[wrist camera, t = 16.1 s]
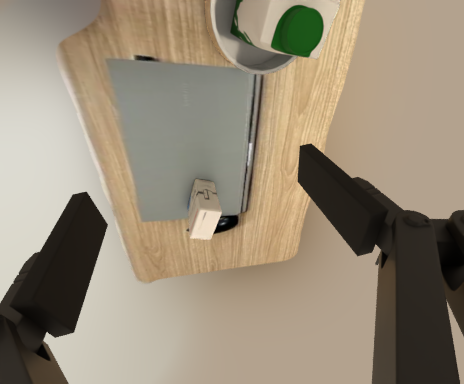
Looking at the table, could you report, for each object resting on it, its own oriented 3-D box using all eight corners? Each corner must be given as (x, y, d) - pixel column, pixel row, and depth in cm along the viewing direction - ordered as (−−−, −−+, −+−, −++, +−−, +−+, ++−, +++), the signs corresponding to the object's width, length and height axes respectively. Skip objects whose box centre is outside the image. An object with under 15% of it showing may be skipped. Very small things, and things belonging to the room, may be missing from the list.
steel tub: (194, -50, 33) (199, -65, 27) (302, -64, 34) (327, -80, 29) (213, 74, 43) (220, 82, 37) (296, 60, 44) (314, 65, 39)
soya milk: (223, 37, 39) (258, 47, 23) (236, -34, 34) (292, -83, 18) (269, 51, 42) (330, 68, 26) (288, -13, 37) (375, -40, 21)
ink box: (205, 208, 61) (211, 241, 51) (186, 205, 59) (189, 239, 49) (214, 181, 56) (223, 212, 47) (194, 177, 54) (199, 209, 45)
